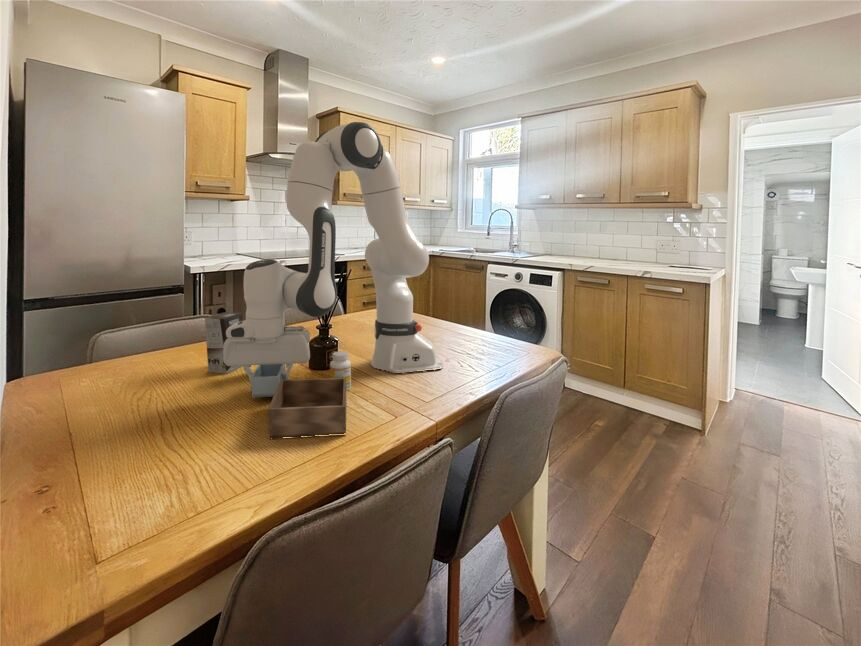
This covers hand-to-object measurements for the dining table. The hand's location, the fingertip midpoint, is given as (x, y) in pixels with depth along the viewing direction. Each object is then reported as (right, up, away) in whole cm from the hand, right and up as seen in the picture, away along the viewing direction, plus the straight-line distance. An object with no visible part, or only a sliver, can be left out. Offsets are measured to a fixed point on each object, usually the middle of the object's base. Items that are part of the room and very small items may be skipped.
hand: (269, 380), depth 113 cm
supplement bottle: (+17, -3, +7) cm, 18 cm away
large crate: (+14, -7, -13) cm, 20 cm away
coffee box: (-19, +1, +19) cm, 27 cm away
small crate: (0, -2, 0) cm, 2 cm away
